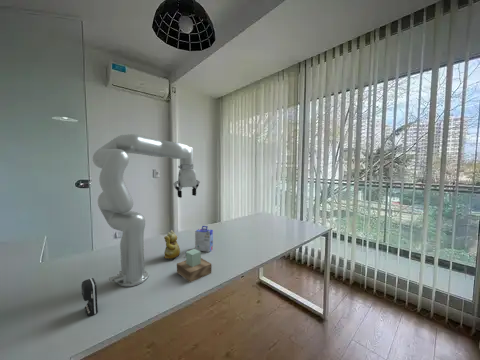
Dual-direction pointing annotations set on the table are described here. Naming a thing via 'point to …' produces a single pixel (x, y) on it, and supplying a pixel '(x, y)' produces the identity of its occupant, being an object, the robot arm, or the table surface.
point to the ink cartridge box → (204, 239)
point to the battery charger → (90, 296)
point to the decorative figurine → (171, 246)
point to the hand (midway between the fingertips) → (187, 196)
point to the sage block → (193, 257)
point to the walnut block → (193, 270)
